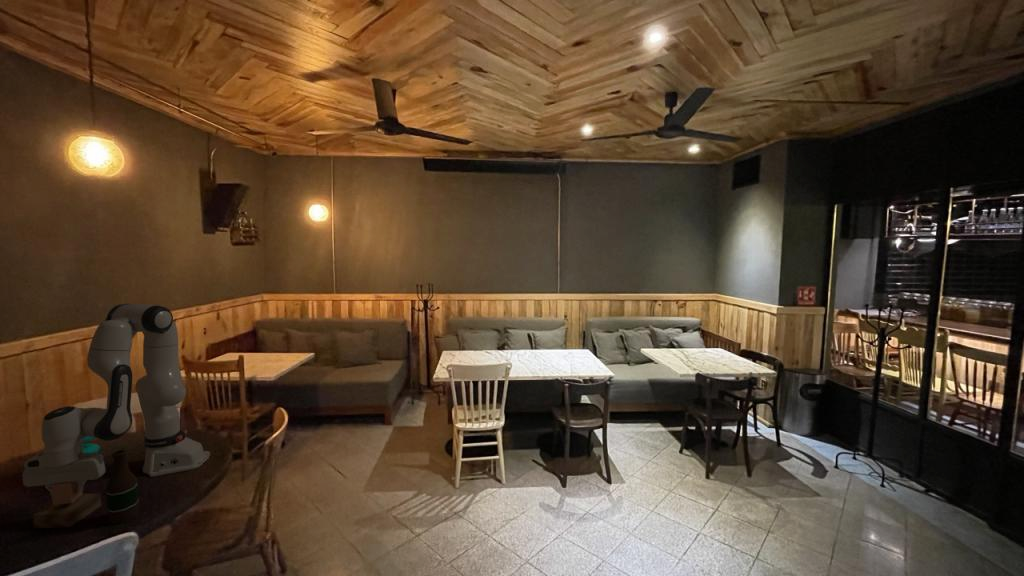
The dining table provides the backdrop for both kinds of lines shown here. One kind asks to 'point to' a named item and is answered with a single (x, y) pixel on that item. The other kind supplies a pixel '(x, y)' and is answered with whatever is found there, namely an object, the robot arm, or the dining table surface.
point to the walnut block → (67, 512)
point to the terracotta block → (64, 493)
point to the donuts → (89, 445)
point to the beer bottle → (122, 491)
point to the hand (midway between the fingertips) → (67, 493)
